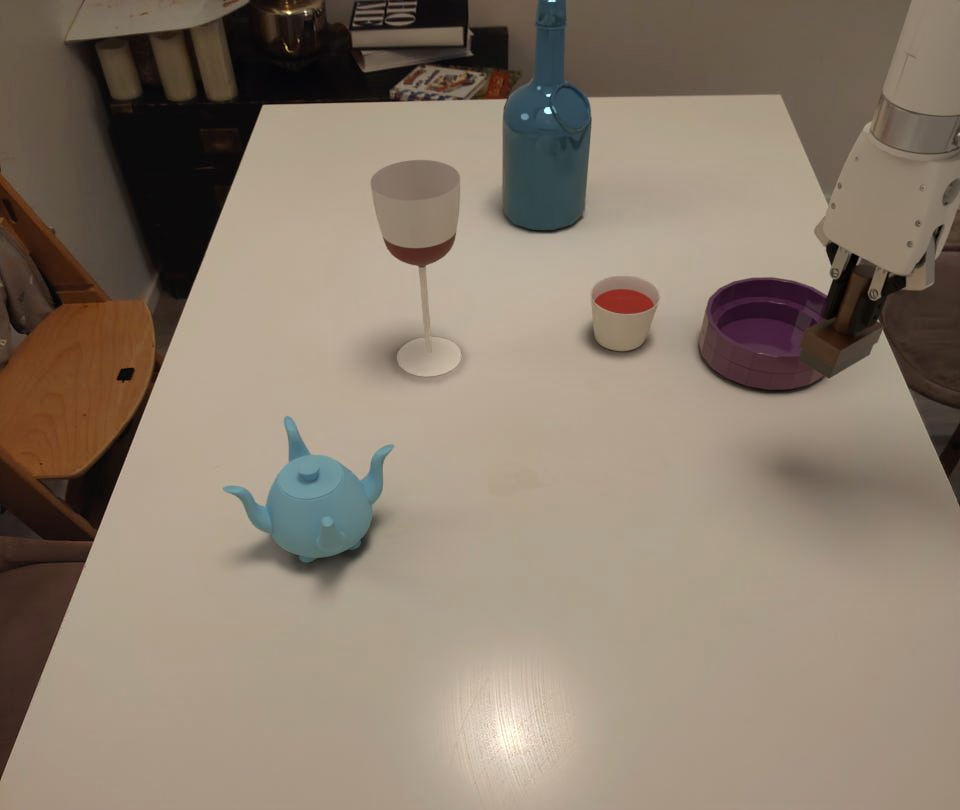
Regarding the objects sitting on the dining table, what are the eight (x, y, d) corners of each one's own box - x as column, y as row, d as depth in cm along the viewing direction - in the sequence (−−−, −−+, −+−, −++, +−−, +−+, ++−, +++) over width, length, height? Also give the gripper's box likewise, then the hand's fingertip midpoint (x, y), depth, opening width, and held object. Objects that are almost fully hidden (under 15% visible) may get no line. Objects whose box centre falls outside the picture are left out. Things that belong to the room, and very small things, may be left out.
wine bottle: (484, 212, 135) (480, -17, 111) (543, 183, 141) (552, -42, 116) (544, 245, 129) (555, 10, 105) (604, 213, 134) (627, -17, 110)
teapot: (243, 555, 93) (218, 487, 85) (307, 478, 100) (289, 408, 92) (345, 592, 90) (329, 525, 82) (403, 509, 97) (394, 440, 89)
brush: (838, 335, 90) (870, 249, 82) (872, 355, 88) (908, 268, 80) (794, 359, 88) (823, 273, 80) (828, 380, 86) (861, 294, 78)
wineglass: (387, 340, 116) (366, 165, 97) (460, 331, 117) (452, 155, 98) (396, 382, 111) (375, 205, 92) (472, 372, 111) (466, 194, 93)
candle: (596, 312, 119) (600, 269, 114) (659, 324, 117) (667, 281, 112) (578, 350, 114) (582, 307, 109) (644, 362, 112) (651, 319, 107)
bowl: (761, 299, 120) (772, 263, 115) (859, 360, 111) (874, 322, 107) (671, 344, 114) (678, 307, 110) (766, 411, 106) (778, 374, 101)
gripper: (1038, 143, 67) (940, 346, 82) (870, 76, 75) (808, 273, 90) (980, 172, 65) (890, 376, 79) (813, 100, 72) (759, 298, 87)
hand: (847, 320), depth 84 cm, fingers closed on brush, 2 cm apart
